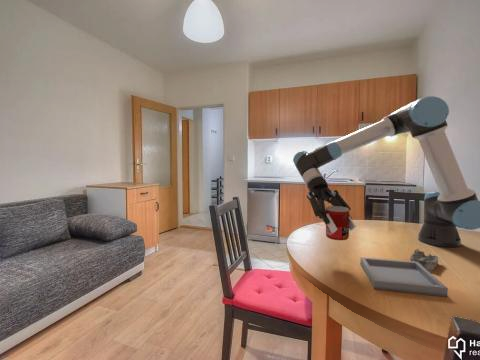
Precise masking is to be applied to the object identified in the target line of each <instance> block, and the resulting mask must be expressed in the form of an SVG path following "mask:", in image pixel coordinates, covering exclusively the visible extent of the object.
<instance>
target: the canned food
mask: <svg viewBox="0 0 480 360" xmlns="http://www.w3.org/2000/svg"><path fill="white" fill-rule="evenodd" d="M325 210H326V214H329V215H330V217H331V219H332V221H333V222H334V224H335V226H336V227H337V230H336V231H335V232H334V233H331V231H330V229H329V227H328V226H327V225H326V224H325V236H326V238H327V239H329V240H334V241H347V240H349V236H350V229H349V215H350V211H349V208H347V207H341V206H333V205H331V206H330V205H329V206H325Z"/></svg>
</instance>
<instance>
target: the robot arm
mask: <svg viewBox="0 0 480 360" xmlns="http://www.w3.org/2000/svg"><path fill="white" fill-rule="evenodd" d="M449 113H450V109H449V106H448V103H447V102H446V101H445V100H444V99H442V98H440V97H437V96H435V95H434V96H433V95H429V96H424V97H420V98H417V99H415V100H414V101H412V102H409V103H408V104H406V105H403V106H402V107H400V108H399V109H397V110H395V111H393V112H392V113H391V114H388V115H386V116H384V117H383V118H382V119H381V120H380V121H377V122H375V123H373V124H370V125H368V126H366V127H364V128H361V129H359V130H356V131H354V132H352V133H350V134H348V135H345V136H343V137H340V138H338V139H336V140H333V141H330V142H328V143H326V144H324V145H322V146H319V147H317V148H315V149H314V150H312V151H311V152H309V153H308V151H307V150H302V151H298V152H297V153H296V154H294V155H293V159H292V162H293V164H294V166H295V167H296V170H297V172H298V174H299V175H300V176H301V179H302V180H303V182H304V183H305V185H306V187H307V189H308V191H309V192H308V193H307V195H306V198H307V199H308V200H309V203H310V205H311V208H312V211H313V215H315V217H317V218H319V219H320V220H322V221H323V222H324V225H325V226H326V225H327V226H328V227H329V229H330V231H331V233H334V232H335V231H336V230H337V227H336V226H335V224H334V222H333V221H332V219H331V217H330V215H329V214H326V205H325V202H327V203H328V204H330V205H331V206H341V207H347V208H349V212H350V211H351V210H352V209H351V207H350V206H349V204H348V203H347V201H345V199H344V198H343V197H342V196H341V195H340V193H339V191H338V190H337V189H335V190H331V189H330V188H329V185H328V182H327V180H326V179H325V177H324V176H323V174H322V173H321V171H320V170H319V168H321V167H322V166H325V165H327V164H329V163H331V162H333V161H335V160H337V159H339V158H340V157H342V156H343V155H345V154H348V153H350V152H353V151H355V150H358V149H360V148H363V147H364V146H367V145H369V144H371V143H374V142H376V141H379V140H382V139H385V138H386V137H394V136H397V135H400V134H403V133H404V134H405V133H408V132H409V133H410V135H411V138H412V139H415V140H418V142H419V145H420V147H421V149H422V152H423V155H424V157H425V160H426V162H427V164H428V167H429V169H430V173H431V174H432V177H433V179H434V181H435V184H436V186H437V189H438V191H429V192H428V191H427V192H426V193H425V194H424V198H423V201H424V204H423V205H424V206H423V224H422V226H421V228H420V230H419V232H418V235H417V239H418V241H420V242H421V243H425V244H428V245H432V246H437V247H442V248H444V247H445V248H458V247H461V245H462V240H461V237H460V234H459V231H458V229H463V230H467V231H468V230H469V231H474V230H478V229H480V200H479V198H478V196H477V193H476V191H475V190H473V189H472V188H468V185H467V183H466V181H465V178H464V176H463V173H462V170H461V168H460V166H459V163H458V160H457V158H456V156H455V153H454V151H453V149H452V146H451V144H450V140H449V139H448V136H447V134H446V129H447V128H448V122H447V118H448V116H449ZM355 228H357V225H356V223H354V221H353V218H352V216H351V214H349V232H350V231H353V230H355Z"/></svg>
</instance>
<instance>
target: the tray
mask: <svg viewBox="0 0 480 360" xmlns="http://www.w3.org/2000/svg"><path fill="white" fill-rule="evenodd" d="M359 263H360V266H361V268H362V269H363V271H364V273H365V274H366V277H367V279H368V280H369V282H370V284H371V285H372V287H373V289H374V290H379V291H380V290H381V291H388V292H389V291H391V292H397V293H398V292H399V293H407V294H416V295H425V296H437V297H443V298H448V294H449V293H448V291H449V289H448V287H447V286H446V285H445V284H443V283H442V282H441V281H440V280H439V279H438V278H437V277H435V276H434V275H433V274H432V273H431V272H430V270H426V269H425V268H424V267H423V266H422V265H421V264H419V263H418V262H414V261H411V260H400V259H386V258H375V257H374V258H373V257H362V256H361V257H360V261H359Z"/></svg>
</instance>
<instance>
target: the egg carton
mask: <svg viewBox="0 0 480 360" xmlns="http://www.w3.org/2000/svg"><path fill="white" fill-rule="evenodd" d="M440 258H441V256H440V255H439V256H437V255H435V254H434V255H432V254H430V253H428V254H425V252H424V251H423V250H419V248H416V249H415V250H414V252H413V253H412V254H411V255H410V257H409V260H410V261H414V262H418V263H419V264H421V265H422V266H423V267H424V268H425V269H426V270H428V271H435V268H436V267H437V265H438V264H439V260H440Z"/></svg>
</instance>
